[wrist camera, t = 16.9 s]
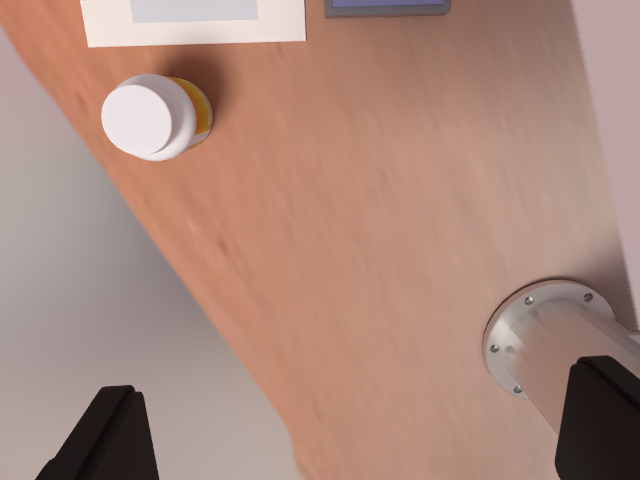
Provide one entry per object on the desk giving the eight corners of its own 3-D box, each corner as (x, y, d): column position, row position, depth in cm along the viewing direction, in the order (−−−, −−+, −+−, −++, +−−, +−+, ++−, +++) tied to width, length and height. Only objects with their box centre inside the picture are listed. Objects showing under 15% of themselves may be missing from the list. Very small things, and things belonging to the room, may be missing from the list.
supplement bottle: (164, 63, 33) (114, 49, 24) (226, 105, 34) (201, 107, 25) (131, 124, 34) (70, 133, 25) (192, 162, 35) (156, 185, 26)
